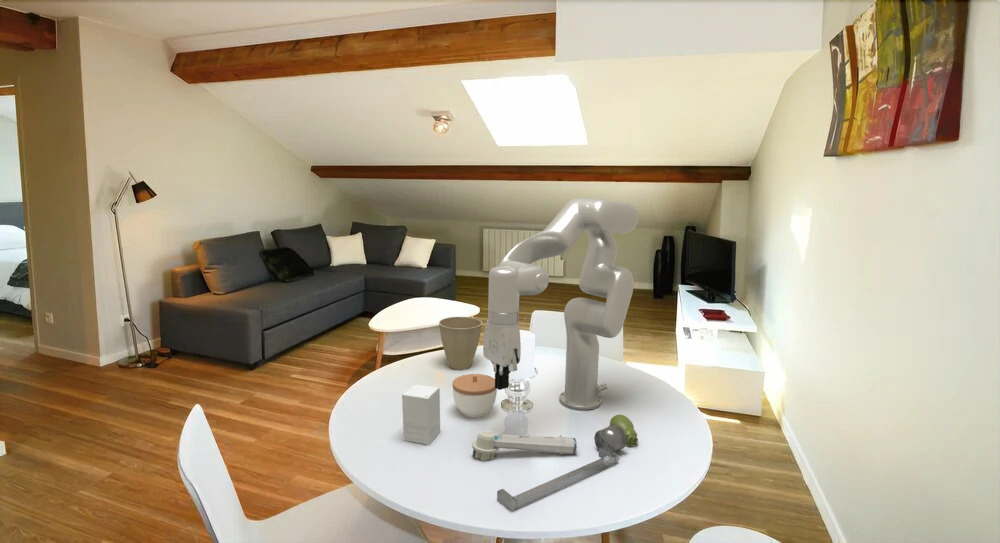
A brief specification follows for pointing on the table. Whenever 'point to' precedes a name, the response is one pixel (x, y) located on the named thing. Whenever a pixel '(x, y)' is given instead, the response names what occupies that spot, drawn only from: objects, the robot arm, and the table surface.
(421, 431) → the supplement box
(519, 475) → the table surface
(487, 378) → the lidded bowl
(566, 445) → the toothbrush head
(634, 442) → the pear
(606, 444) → the ladle
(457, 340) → the plant pot
